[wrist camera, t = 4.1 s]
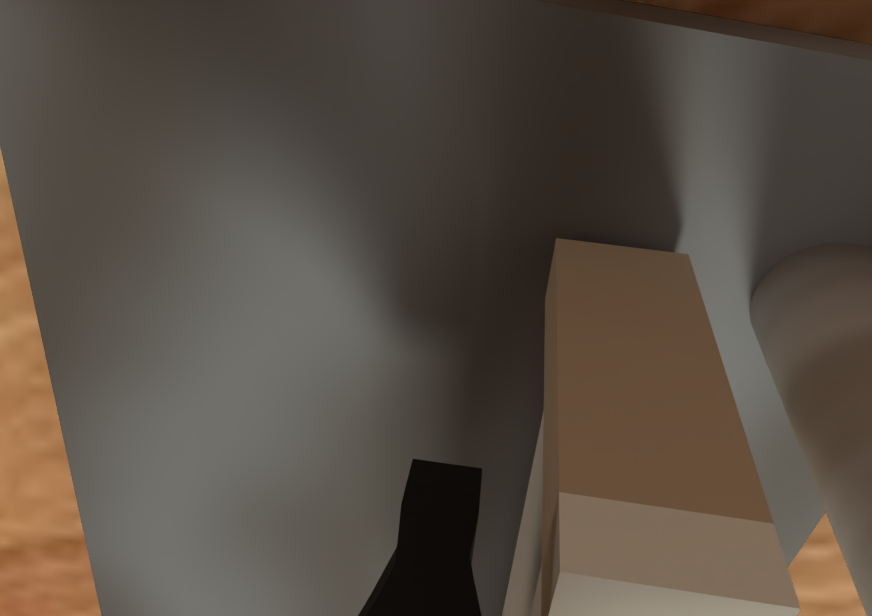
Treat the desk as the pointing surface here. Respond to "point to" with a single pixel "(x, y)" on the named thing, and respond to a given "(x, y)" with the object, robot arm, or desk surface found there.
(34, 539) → the desk surface
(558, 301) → the gate leaf
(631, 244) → the gate base
